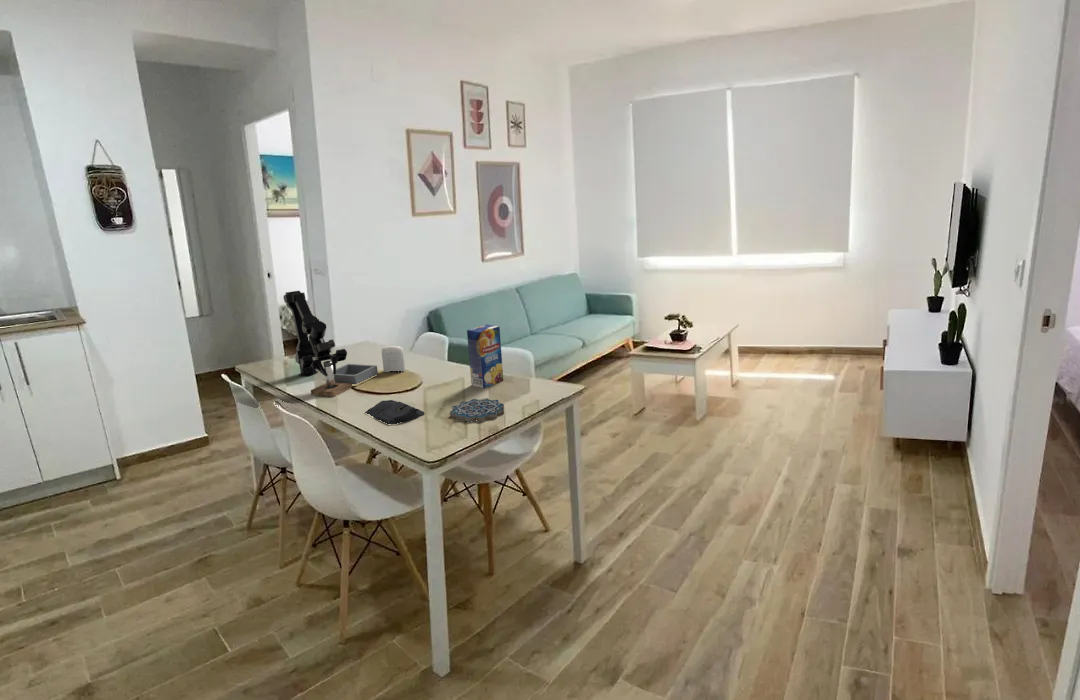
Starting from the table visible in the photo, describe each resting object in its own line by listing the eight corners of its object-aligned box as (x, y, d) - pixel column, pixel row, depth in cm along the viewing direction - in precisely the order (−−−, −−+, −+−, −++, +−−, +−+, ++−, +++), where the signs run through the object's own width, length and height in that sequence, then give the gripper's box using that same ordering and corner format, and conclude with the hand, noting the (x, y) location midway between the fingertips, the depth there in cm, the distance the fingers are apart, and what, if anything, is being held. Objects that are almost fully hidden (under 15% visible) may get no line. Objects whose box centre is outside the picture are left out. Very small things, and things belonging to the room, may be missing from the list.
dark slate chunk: (396, 403, 245) (395, 392, 244) (427, 416, 229) (426, 404, 228) (361, 414, 235) (360, 402, 234) (392, 428, 219) (390, 416, 218)
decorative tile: (485, 426, 216) (484, 420, 215) (440, 419, 226) (439, 412, 225) (514, 407, 233) (514, 402, 232) (471, 401, 242) (471, 395, 242)
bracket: (311, 394, 260) (310, 390, 259) (330, 385, 271) (329, 381, 270) (334, 396, 256) (333, 392, 255) (352, 387, 266) (351, 383, 266)
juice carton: (483, 388, 256) (479, 332, 250) (471, 385, 261) (466, 330, 255) (503, 380, 265) (499, 326, 259) (491, 377, 270) (487, 324, 263)
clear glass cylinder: (325, 389, 262) (321, 362, 259) (331, 387, 265) (327, 360, 262) (332, 390, 261) (328, 363, 257) (338, 387, 264) (334, 361, 261)
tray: (326, 384, 273) (325, 373, 272) (349, 373, 287) (348, 363, 286) (356, 386, 267) (355, 376, 266) (378, 375, 282) (376, 365, 281)
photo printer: (406, 369, 289) (403, 344, 285) (404, 372, 285) (401, 346, 281) (385, 370, 290) (382, 344, 287) (382, 372, 286) (379, 347, 282)
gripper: (298, 338, 255) (310, 369, 249) (342, 330, 265) (355, 360, 259) (296, 353, 263) (307, 383, 257) (339, 344, 273) (351, 373, 268)
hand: (330, 374), depth 260 cm, fingers closed on clear glass cylinder, 4 cm apart
